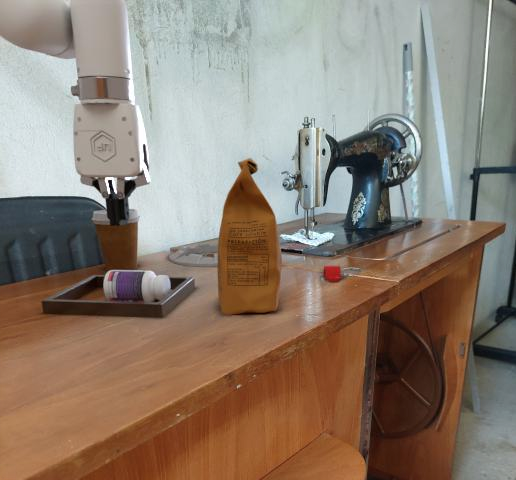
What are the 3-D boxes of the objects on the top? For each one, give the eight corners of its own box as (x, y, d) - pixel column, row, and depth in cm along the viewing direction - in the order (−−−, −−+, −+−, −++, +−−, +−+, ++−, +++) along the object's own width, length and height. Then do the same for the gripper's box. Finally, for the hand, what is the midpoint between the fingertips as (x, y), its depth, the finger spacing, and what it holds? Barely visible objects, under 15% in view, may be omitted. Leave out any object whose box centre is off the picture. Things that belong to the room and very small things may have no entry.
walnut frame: (43, 316, 79) (41, 300, 78) (95, 288, 94) (93, 274, 94) (162, 320, 76) (161, 304, 75) (195, 290, 91) (194, 277, 90)
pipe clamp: (322, 272, 103) (322, 261, 102) (336, 272, 103) (337, 261, 102) (326, 282, 95) (326, 270, 95) (341, 282, 95) (342, 270, 94)
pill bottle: (104, 307, 83) (162, 308, 81) (100, 274, 81) (159, 275, 80) (118, 298, 88) (173, 299, 86) (114, 266, 86) (170, 267, 84)
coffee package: (282, 295, 87) (281, 157, 79) (281, 318, 76) (280, 158, 68) (223, 296, 88) (217, 158, 80) (214, 318, 76) (205, 160, 68)
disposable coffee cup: (88, 271, 108) (80, 212, 104) (124, 263, 115) (117, 207, 111) (119, 276, 103) (112, 214, 98) (154, 267, 110) (149, 209, 106)
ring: (203, 270, 106) (203, 261, 106) (153, 258, 120) (152, 249, 119) (271, 256, 119) (271, 248, 118) (219, 246, 132) (218, 238, 131)
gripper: (44, 92, 72) (62, 226, 78) (147, 91, 69) (156, 229, 76) (71, 97, 78) (85, 220, 85) (165, 95, 76) (173, 222, 83)
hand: (119, 224), depth 80 cm, fingers closed
